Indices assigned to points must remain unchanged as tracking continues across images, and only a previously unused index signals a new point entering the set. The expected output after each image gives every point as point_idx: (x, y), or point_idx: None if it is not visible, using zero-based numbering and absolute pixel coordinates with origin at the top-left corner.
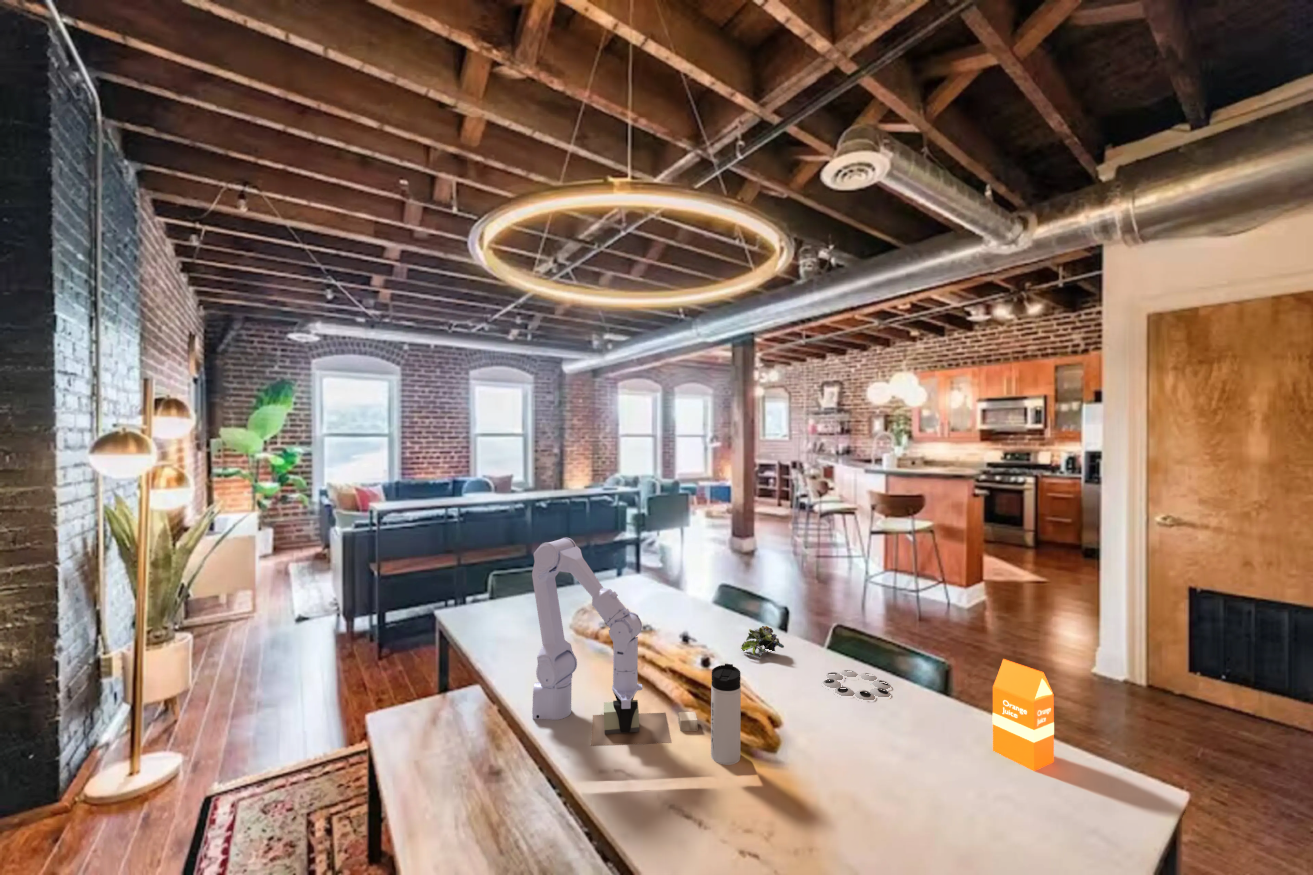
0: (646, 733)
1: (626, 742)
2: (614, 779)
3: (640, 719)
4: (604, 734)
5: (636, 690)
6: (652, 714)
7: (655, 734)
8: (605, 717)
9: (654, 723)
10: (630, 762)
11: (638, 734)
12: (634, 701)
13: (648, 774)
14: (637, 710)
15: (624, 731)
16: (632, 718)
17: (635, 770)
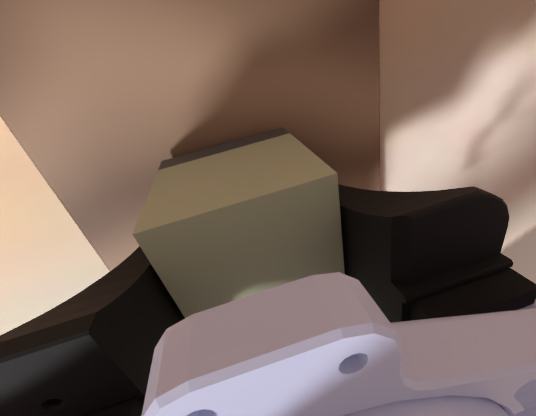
0: (275, 82)
1: (365, 167)
2: (516, 152)
3: (120, 153)
4: None
5: (452, 349)
6: (5, 82)
7: (279, 16)
8: None
9: (137, 44)
10: (438, 120)
11: (292, 127)
12: (179, 247)
13: (530, 22)
14: (336, 178)
15: None
16: (358, 188)
17: (490, 88)
